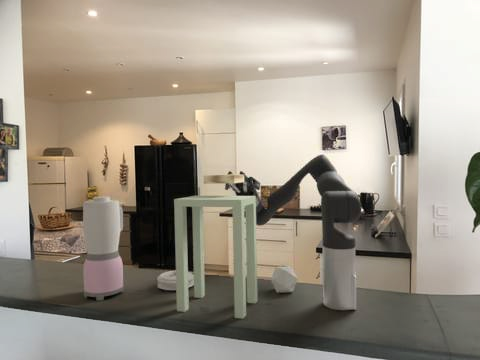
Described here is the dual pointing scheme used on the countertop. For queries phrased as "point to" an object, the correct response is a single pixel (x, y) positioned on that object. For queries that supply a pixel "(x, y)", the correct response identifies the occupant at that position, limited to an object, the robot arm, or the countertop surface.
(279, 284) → the die
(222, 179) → the cheese board
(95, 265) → the blender
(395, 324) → the countertop surface
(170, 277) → the lid
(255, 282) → the mint green side table
